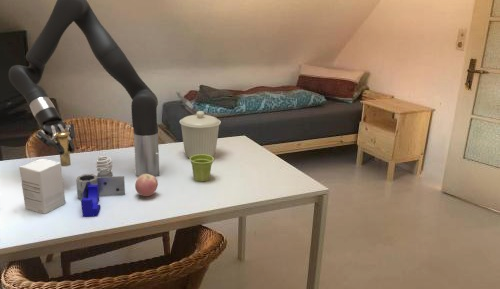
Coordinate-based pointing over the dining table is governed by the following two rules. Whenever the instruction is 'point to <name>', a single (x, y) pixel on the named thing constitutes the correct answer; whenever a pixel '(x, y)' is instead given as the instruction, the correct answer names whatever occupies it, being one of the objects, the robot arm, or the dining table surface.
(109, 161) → the light bulb
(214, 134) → the canister
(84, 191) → the hinge leaf lower
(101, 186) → the hinge leaf upper
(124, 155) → the dining table surface
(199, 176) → the plant pot
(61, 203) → the supplement box
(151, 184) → the apple
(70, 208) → the dining table surface
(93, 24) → the robot arm
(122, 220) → the dining table surface
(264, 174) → the dining table surface
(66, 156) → the hinge pin
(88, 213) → the cable clip
